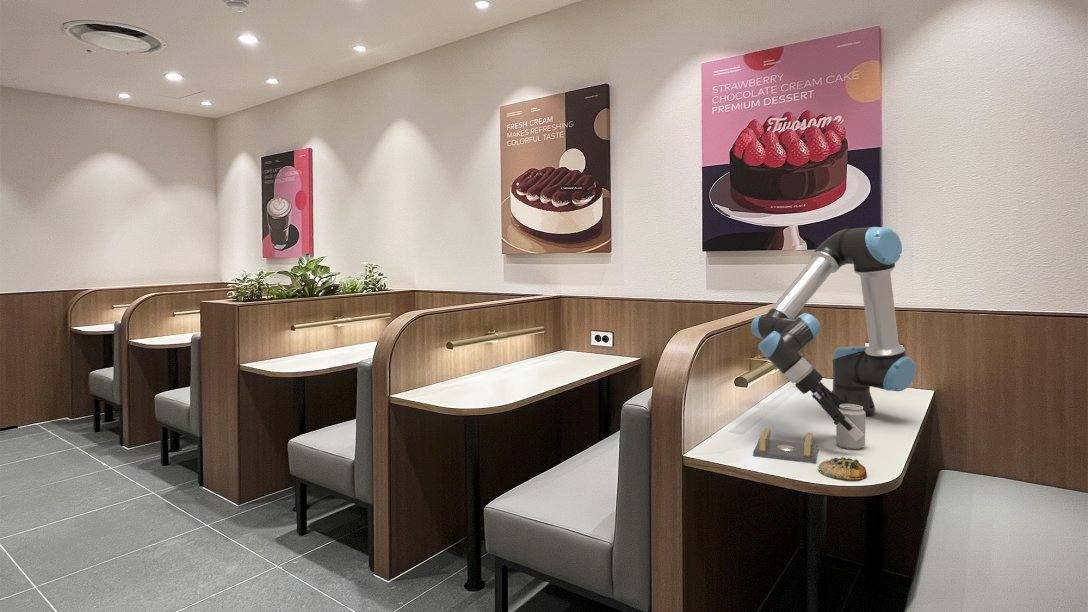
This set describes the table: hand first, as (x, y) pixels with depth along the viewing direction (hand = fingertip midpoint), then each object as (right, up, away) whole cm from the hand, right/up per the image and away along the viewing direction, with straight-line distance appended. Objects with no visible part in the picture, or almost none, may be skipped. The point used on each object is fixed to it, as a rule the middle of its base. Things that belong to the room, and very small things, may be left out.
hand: (859, 431), depth 177 cm
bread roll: (-15, -7, -20) cm, 26 cm away
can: (-2, -5, +1) cm, 5 cm away
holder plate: (-22, -5, -3) cm, 23 cm away
